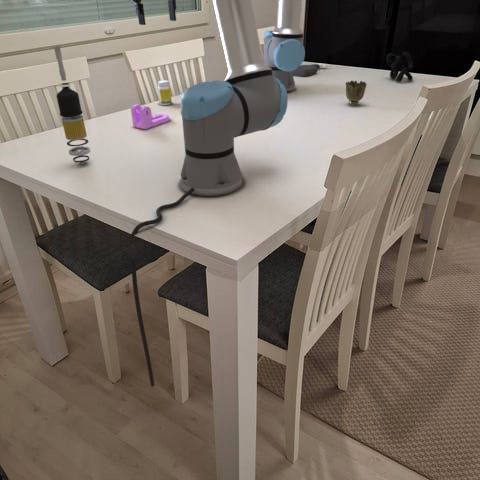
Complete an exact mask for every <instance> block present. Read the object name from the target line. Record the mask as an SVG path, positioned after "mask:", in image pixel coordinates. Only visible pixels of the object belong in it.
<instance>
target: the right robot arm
mask: <svg viewBox="0 0 480 480" xmlns="http://www.w3.org/2000/svg"><path fill="white" fill-rule="evenodd" d="M128 1H129V2H130V3H132V4H134V8H135V14H136V15H137V18H138V24H139V25H141V26H146V25H147V24H146V16H145V9H144V3H141V2H142V0H128ZM302 4H303V0H277V16H276V27H275V28H273V30H266V31H265V32H264V34H263V62H264V63H265V64H266V65H267V66H269V67H270V68H271V69H272V74H273V77H274V78H277V79H279V80H280V81H281V84H283V85H284V87H285V89H286V92H287V93H290V92H293V91H295V90H296V81H295V78H294V75H293V74H292V71H293V70H295V69H297V68H298V67H299V66H300V65H303V63H304V60H305V56H306V50H305V46H304V45H303V43H304V31H303V29H301V17H302V6H303V5H302ZM167 5H168V7H167V8H168V14H169V15H168V16H169V21H171V22H176V21H177V14H176V11H177V0H167Z"/></svg>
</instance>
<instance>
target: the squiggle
mask: <svg viewBox="0 0 480 480" xmlns="http://www.w3.org/2000/svg"><path fill="white" fill-rule="evenodd" d="M401 57H402V59H401ZM391 59H392V60H391ZM393 60H394V61H393ZM385 61H386V64H387V67H390V68H391V70H390V72H389V78H390V79H391V80H395V79H396V81H397V82H399V83H400V82H402V81H403V79H404V76H406V78H407V80H408V81H412V80H413V79H414V77H413V75H412V74H411V73H410V72H409V71H410V70H412V69H413V68H414V64H413V61H412V57H411V54H410V53H409V52H408V51H403V53H402V54H401V55H396V54H394V53H392V52H390V53H387V55H386V57H385ZM406 62H407V65H408V66H407V67H405V66H404V65H405V64H406ZM400 70H401V71H400Z"/></svg>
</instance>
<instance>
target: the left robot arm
mask: <svg viewBox="0 0 480 480" xmlns="http://www.w3.org/2000/svg"><path fill="white" fill-rule="evenodd" d="M212 3H213V8H214V13H215V16H216V20H217V26H218V29H219V34H220V38H221V44H222V47H223V52H224V56H225V61H226V66H227V70H228V72H227V74H226V76H225V78H224V80H211V81H203V82H200V83H196V84H193V85H191V86H189V87H188V88H186V89H185V90H184V91H183V93H182V95H181V98H180V116H181V120H182V121H181V122H182V131H183V143H184V154H185V155H184V158H183V164H182V168H181V171H180V176H179V183H180V184H179V185H180V188H181V189H182V191H184V194H182V196H181V197H179V199H177V200H176V201H174V202H172V203H167V204H163V205H160V206H159V207H157V209H156V215H157V217H156V218H155V219H150V220H145V221H141V222H140V223H138V224H137V225H136V226H135V227H134V228H133V229H132V232H131V234H130V236H136V235H137V233H138V232H139V230H141V229H142V228H143V227H147V226H151V225H155V224H158V223H159V222H161V221H162V219H163V215H162V211H163V210H166V209H172V208H175V207H177V206H179V205H180V204H182V203H183V202H184V201H185V200H186V198H188V197H189V196H190V195H194V196H199V197H221V196H224V195H229V194H232V193H234V192H235V191H237V190H239V189H240V188H241V187H242V185H243V174H242V171H241V168H240V165H239V163H238V160H237V157H236V154H235V138H237V137H238V138H239V137H242V136H245V135H249V134H253V133H257V132H261V131H266V130H268V129H271V128H273V127H275V126H277V125H278V124H280V123H281V122H282V121H283V119H284V116H285V115H286V114H287V113H286V112H287V108H288V92H286V89H285V87H284V85H283V84H281V81H280V80H279V79H277V78H274V77H273V74H272V69H271V68H270V67H269V66H267V65H266V64H265V63H264V56H263V53H262V48H261V42H260V38H259V32H258V27H257V23H256V18H255V13H254V8H253V3H252V0H212ZM341 3H345V4H360V0H341ZM130 261H131V263H130V266H131V279H132V288H133V297H134V303H135V309H136V315H137V316H136V317H137V321H138V326H139V332H140V336H141V341H142V345H143V350H144V356H145V360H146V366H147V371H148V377H149V383H150V387H151V388H152V387H155V380H154V379H155V378H154V374H153V373H154V372H153V368H152V362H151V357H150V351H149V346H148V342H147V335H146V332H145V331H146V330H145V326H144V319H143V313H142V310H141V309H142V308H141V303H140V295H139V287H138V279H137V278H138V277H137V260H135V259H130Z"/></svg>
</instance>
